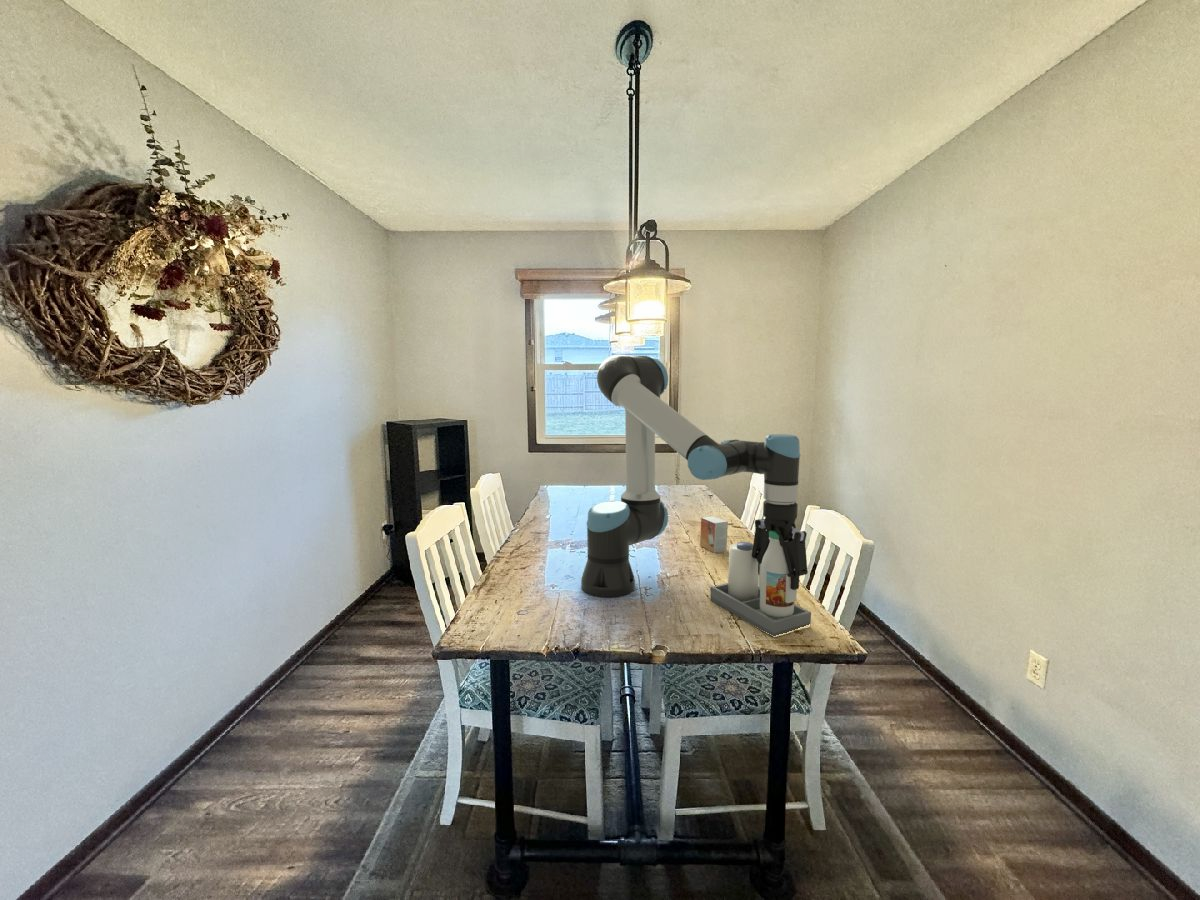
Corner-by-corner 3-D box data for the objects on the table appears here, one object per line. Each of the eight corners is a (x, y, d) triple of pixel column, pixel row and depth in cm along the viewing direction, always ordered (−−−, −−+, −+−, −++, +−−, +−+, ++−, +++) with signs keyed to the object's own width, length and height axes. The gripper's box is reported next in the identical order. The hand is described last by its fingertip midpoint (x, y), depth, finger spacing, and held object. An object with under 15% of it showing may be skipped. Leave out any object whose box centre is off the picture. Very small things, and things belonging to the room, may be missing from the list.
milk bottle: (753, 611, 120) (756, 530, 118) (768, 602, 126) (771, 524, 123) (784, 622, 115) (787, 537, 112) (799, 611, 120) (802, 530, 118)
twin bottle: (741, 608, 126) (743, 550, 124) (721, 597, 132) (723, 542, 130) (764, 602, 129) (766, 546, 127) (743, 591, 136) (745, 538, 134)
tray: (773, 638, 113) (774, 622, 113) (710, 600, 133) (710, 586, 133) (810, 627, 119) (811, 612, 118) (743, 592, 138) (744, 579, 138)
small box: (699, 546, 177) (700, 517, 176) (712, 544, 180) (713, 515, 178) (713, 553, 170) (714, 523, 169) (727, 551, 172) (728, 521, 171)
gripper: (829, 508, 110) (824, 608, 112) (760, 491, 128) (757, 578, 130) (804, 512, 106) (800, 615, 109) (737, 494, 124) (735, 583, 127)
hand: (777, 594), depth 120 cm, fingers closed on milk bottle, 8 cm apart
